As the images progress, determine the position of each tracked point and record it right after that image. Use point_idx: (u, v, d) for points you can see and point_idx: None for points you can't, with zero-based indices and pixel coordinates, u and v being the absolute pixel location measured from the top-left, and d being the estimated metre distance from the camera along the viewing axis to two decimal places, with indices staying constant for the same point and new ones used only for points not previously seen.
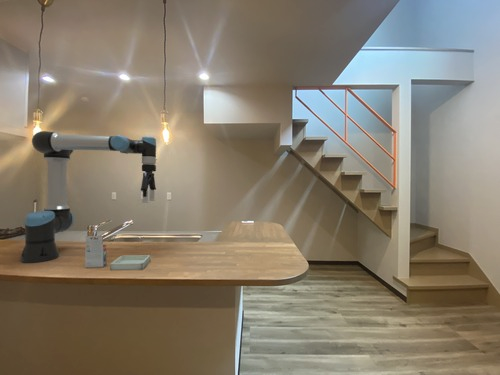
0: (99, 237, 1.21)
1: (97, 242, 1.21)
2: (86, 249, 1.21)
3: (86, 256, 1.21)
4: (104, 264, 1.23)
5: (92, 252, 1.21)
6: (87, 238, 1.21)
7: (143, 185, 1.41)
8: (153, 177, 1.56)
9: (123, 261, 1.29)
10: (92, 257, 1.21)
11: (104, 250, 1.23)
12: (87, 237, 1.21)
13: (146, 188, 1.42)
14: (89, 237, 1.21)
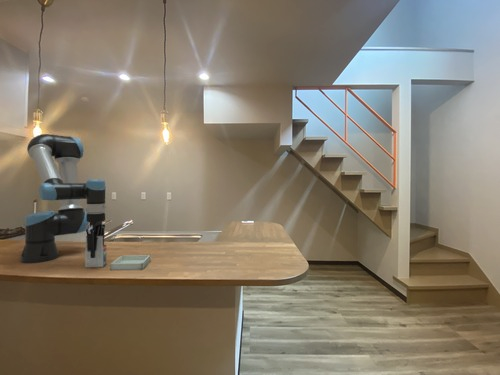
0: (99, 237, 1.21)
1: (97, 242, 1.21)
2: (86, 249, 1.21)
3: (86, 256, 1.21)
4: (104, 264, 1.23)
5: None
6: None
7: (89, 246, 1.17)
8: (103, 229, 1.27)
9: (123, 261, 1.29)
10: None
11: (104, 250, 1.23)
12: None
13: (94, 248, 1.18)
14: None
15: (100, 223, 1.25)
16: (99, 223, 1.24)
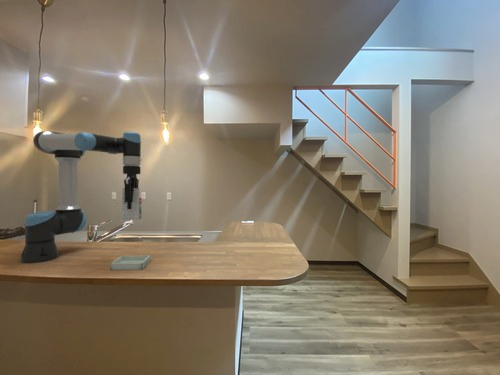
0: (135, 189, 1.23)
1: (133, 194, 1.23)
2: (123, 201, 1.23)
3: (123, 208, 1.23)
4: (140, 216, 1.25)
5: None
6: (124, 190, 1.23)
7: (126, 196, 1.19)
8: (137, 183, 1.29)
9: (123, 261, 1.29)
10: None
11: (140, 202, 1.25)
12: (124, 189, 1.23)
13: (131, 199, 1.20)
14: None
15: (135, 177, 1.26)
16: (134, 176, 1.25)
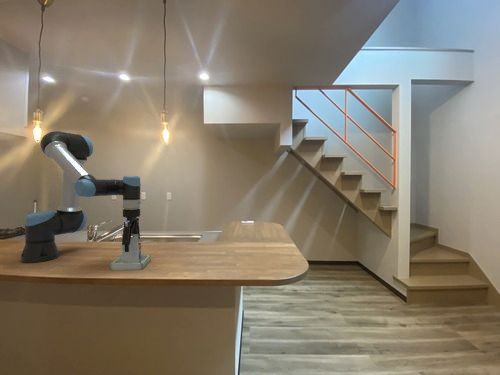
0: (135, 235, 1.23)
1: (133, 240, 1.23)
2: (122, 247, 1.23)
3: (122, 254, 1.23)
4: (139, 261, 1.25)
5: None
6: None
7: (124, 239, 1.17)
8: (137, 223, 1.31)
9: None
10: None
11: (139, 248, 1.25)
12: None
13: (128, 242, 1.17)
14: None
15: (135, 219, 1.27)
16: (134, 220, 1.26)
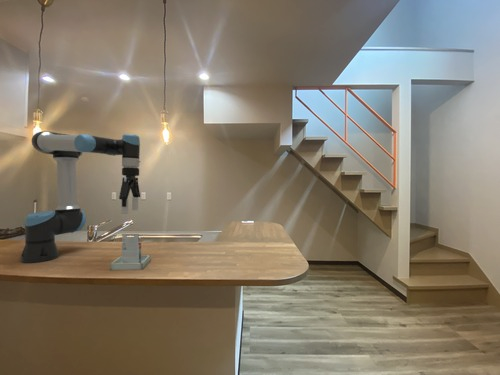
0: (135, 235, 1.24)
1: (133, 240, 1.24)
2: (122, 247, 1.23)
3: (122, 254, 1.24)
4: (139, 261, 1.25)
5: (128, 250, 1.24)
6: (123, 236, 1.23)
7: (122, 193, 1.17)
8: (137, 182, 1.32)
9: None
10: (128, 255, 1.24)
11: (139, 248, 1.25)
12: (123, 235, 1.23)
13: (125, 196, 1.17)
14: (125, 235, 1.23)
15: (134, 179, 1.28)
16: (133, 180, 1.27)
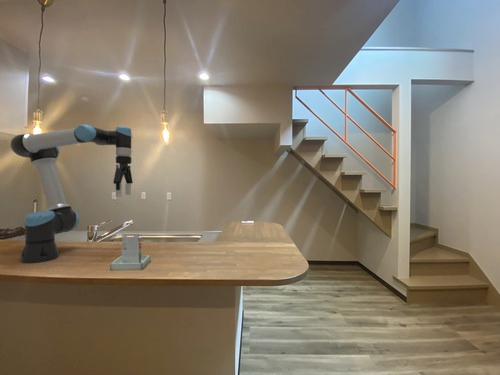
0: (135, 235, 1.24)
1: (133, 240, 1.24)
2: (122, 247, 1.23)
3: (122, 254, 1.24)
4: (139, 261, 1.25)
5: (128, 250, 1.24)
6: (123, 236, 1.23)
7: (116, 178, 1.33)
8: (129, 170, 1.48)
9: None
10: (128, 255, 1.24)
11: (139, 248, 1.25)
12: (123, 235, 1.23)
13: (119, 181, 1.33)
14: (125, 235, 1.23)
15: (127, 167, 1.44)
16: None
